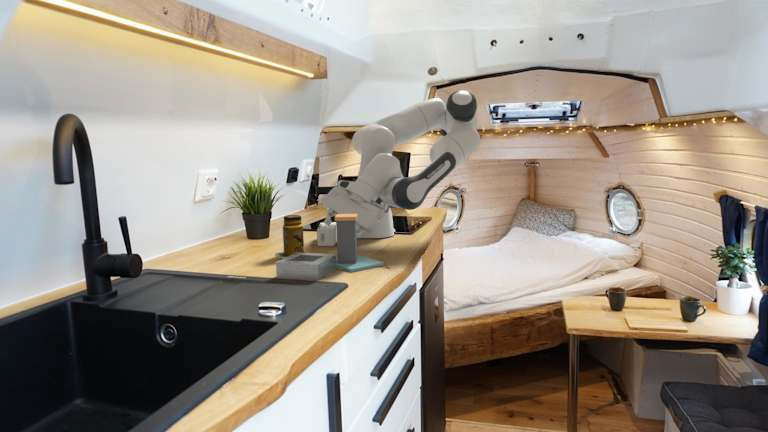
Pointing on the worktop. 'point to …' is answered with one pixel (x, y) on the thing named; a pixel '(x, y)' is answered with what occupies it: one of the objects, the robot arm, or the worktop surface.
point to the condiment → (292, 236)
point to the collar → (306, 266)
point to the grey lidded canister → (346, 238)
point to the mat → (360, 264)
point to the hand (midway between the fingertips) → (336, 230)
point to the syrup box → (327, 234)
